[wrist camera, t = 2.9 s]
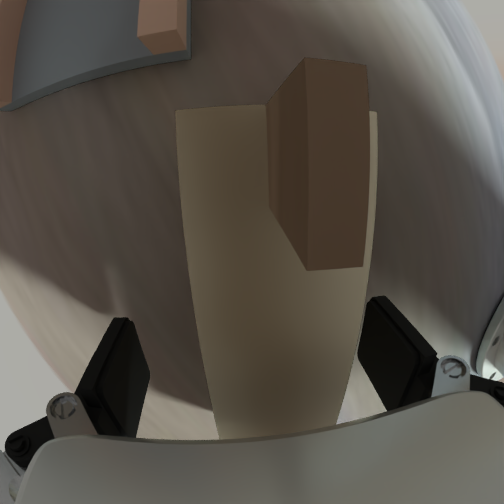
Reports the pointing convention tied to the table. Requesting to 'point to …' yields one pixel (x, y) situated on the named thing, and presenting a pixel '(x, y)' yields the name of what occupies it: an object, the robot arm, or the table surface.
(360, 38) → the table surface
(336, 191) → the tapered cream block
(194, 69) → the table surface
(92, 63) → the jig cradle
